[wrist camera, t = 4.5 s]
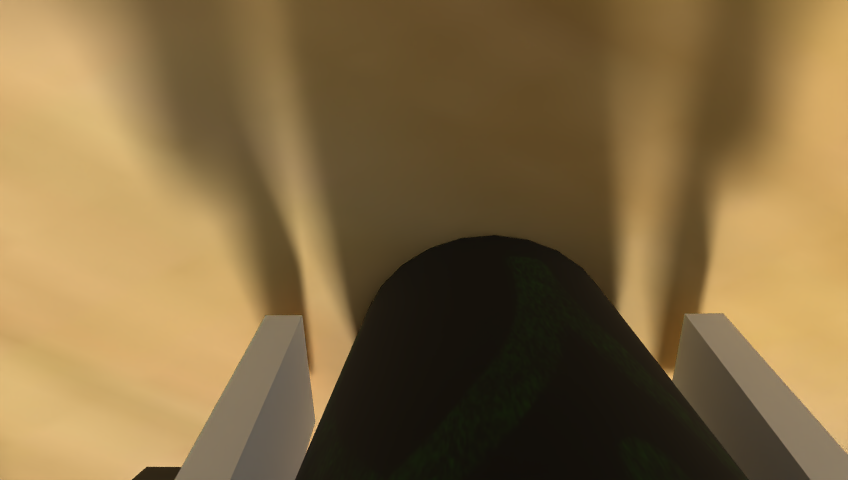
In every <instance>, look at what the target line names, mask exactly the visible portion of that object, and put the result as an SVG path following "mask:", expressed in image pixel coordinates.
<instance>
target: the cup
mask: <svg viewBox="0 0 848 480" xmlns="http://www.w3.org/2000/svg"><path fill="white" fill-rule="evenodd" d="M295 480H749V479H748V478H747V476H746V475H745V474H744V473H743V471H742V470H741V469H740V468H739V466H738V465H737V464H736V462H735V461H734V460H733V459H732V457H731V456H730V455H729V453H728V452H727V451H726V450H725V448H724V447H723V446H722V444H721V443H720V442H719V441H718V439H717V438H716V437H715V435H714V434H713V433H712V432H711V430H710V429H709V428H708V427H707V425H706V424H705V423H704V421H703V420H702V419H701V418H700V416H699V415H698V414H697V412H696V411H695V410H694V409H693V407H692V406H691V405H690V403H689V402H688V401H687V400H686V398H685V397H684V396H683V395H682V393H681V392H680V391H679V389H678V388H677V387H676V386H675V384H674V383H673V382H672V380H671V379H670V378H669V377H668V375H667V374H666V373H665V371H664V370H663V369H662V368H661V366H660V365H659V364H658V362H657V361H656V360H655V359H654V357H653V356H652V355H651V354H650V352H649V351H648V350H647V348H646V347H645V346H644V345H643V343H642V342H641V341H640V339H639V338H638V337H637V336H636V334H635V333H634V332H633V330H632V329H631V328H630V327H629V325H628V324H627V323H626V322H625V320H624V319H623V318H622V316H621V315H620V314H619V313H618V311H617V310H616V309H615V307H614V306H613V305H612V304H611V302H610V301H609V300H608V298H607V297H606V296H605V295H604V293H603V292H602V291H601V290H600V288H599V287H598V286H597V285H596V284H595V282H594V281H593V280H592V279H591V278H590V277H589V275H588V274H587V273H586V272H585V271H584V269H583V268H581V267H580V266H578V265H577V264H575V263H574V262H573V261H571V260H570V259H568V258H567V257H565V256H564V255H562V254H561V253H560V252H558V251H556V250H553V249H551V248H548V247H545V246H543V245H540V244H537V243H535V242H532V241H530V240H526V239H518V238H511V237H503V236H496V235H493V236H482V237H471V238H461V239H458V240H455V241H451V242H448V243H445V244H442V245H439V246H436V247H433V248H430V249H428V250H426V251H425V252H423V253H422V254H420V255H418V256H417V257H415V258H413V259H412V260H410V261H408V262H407V263H405V264H403V265H402V266H401V267H400V268H399V269H398V270H397V271H396V272H395V273H394V274H393V275H392V276H391V277H390V278H389V279H388V280H387V281H386V282H385V283H384V284H383V285H382V286H381V288H380V290H379V292H378V293H377V295H376V297H375V298H374V300H373V302H372V304H371V305H370V307H369V309H368V311H367V313H366V315H365V318H364V320H363V322H362V325H361V327H360V329H359V332H358V334H357V336H356V339H355V341H354V343H353V346H352V348H351V350H350V353H349V355H348V357H347V360H346V362H345V364H344V367H343V369H342V371H341V374H340V376H339V378H338V381H337V383H336V385H335V388H334V390H333V392H332V395H331V397H330V399H329V401H328V404H327V406H326V408H325V411H324V413H323V415H322V418H321V420H320V422H319V425H318V427H317V429H316V432H315V434H314V436H313V439H312V441H311V443H310V446H309V448H308V450H307V453H306V455H305V457H304V460H303V462H302V464H301V467H300V469H299V471H298V474H297V476H296V478H295Z"/></svg>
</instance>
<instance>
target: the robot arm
mask: <svg viewBox="0 0 848 480" xmlns="http://www.w3.org/2000/svg"><path fill="white" fill-rule="evenodd" d="M672 382H673V383H674V384H675V386H676V387H677V388H678V389H679V391H680V392H681V393H682V395H683V396H684V397H685V398H686V400H687V401H688V402H689V403H690V405H691V406H692V407H693V409H694V410H695V411H696V412H697V414H698V415H699V416H700V418H701V419H702V420H703V421H704V423H705V424H706V425H707V427H708V428H709V429H710V430H711V432H712V433H713V434H714V435H715V437H716V438H717V439H718V441H719V442H720V443H721V444H722V446H723V447H724V448H725V450H726V451H727V452H728V453H729V455H730V456H731V457H732V459H733V460H734V461H735V462H736V464H737V465H738V466H739V468H740V469H741V470H742V471H743V473H744V474H745V475H746V476H747V478H748V479H749V480H848V454H847V453H846V452H845V451H844V450H843V449H842V448H841V446H840V445H839V444H838V443H837V442H836V441H835V440H834V438H833V437H832V436H831V435H830V434H829V433H828V432H827V431H826V429H825V428H824V427H823V426H822V425H821V424H820V423H819V421H818V420H817V419H816V418H815V417H814V416H813V415H812V413H811V412H810V411H809V410H808V409H807V408H806V407H805V406H804V404H803V403H802V402H801V401H800V400H799V399H798V398H797V396H796V395H795V394H794V393H793V392H792V391H791V390H790V389H789V387H788V386H787V385H786V384H785V383H784V382H783V381H782V379H781V378H780V377H779V376H778V375H777V374H776V373H775V371H774V370H773V369H772V368H771V367H770V366H769V365H768V364H767V362H766V361H765V360H764V359H763V358H762V357H761V356H760V354H759V353H758V352H757V351H756V350H755V349H754V348H753V347H752V345H751V344H750V343H749V342H748V341H747V340H746V339H745V337H744V336H743V335H742V334H741V333H740V332H739V331H738V329H737V328H736V327H735V326H734V325H733V324H732V323H731V322H730V320H729V319H728V318H727V317H726V316H725V315H724V314H723V313H708V314H684V319H683V325H682V330H681V336H680V342H679V347H678V353H677V358H676V364H675V369H674V375H673V380H672ZM314 424H315V415H314V407H313V399H312V391H311V383H310V374H309V366H308V358H307V350H306V342H305V333H304V325H303V317H302V315H265V317H264V319H263V321H262V322H261V324H260V326H259V328H258V330H257V331H256V333H255V335H254V337H253V339H252V341H251V342H250V344H249V346H248V348H247V350H246V351H245V353H244V355H243V357H242V359H241V360H240V362H239V364H238V366H237V368H236V369H235V371H234V373H233V375H232V377H231V379H230V380H229V382H228V384H227V386H226V388H225V389H224V391H223V393H222V395H221V397H220V398H219V400H218V402H217V404H216V406H215V407H214V409H213V411H212V413H211V415H210V417H209V418H208V420H207V422H206V424H205V426H204V427H203V429H202V431H201V433H200V435H199V436H198V438H197V440H196V442H195V444H194V446H193V447H192V449H191V451H190V453H189V455H188V456H187V458H186V460H185V462H184V464H183V465H182V467H146V468H145V469H144V470H143V471H141V472H140V473H139V474H138V475H137V476H136V477H135V478H133V479H132V480H295V478H296V476H297V474H298V471H299V469H300V467H301V464H302V462H303V460H304V457H305V454H306V451H307V447H308V444H309V441H310V437H311V434H312V431H313V427H314Z"/></svg>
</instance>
